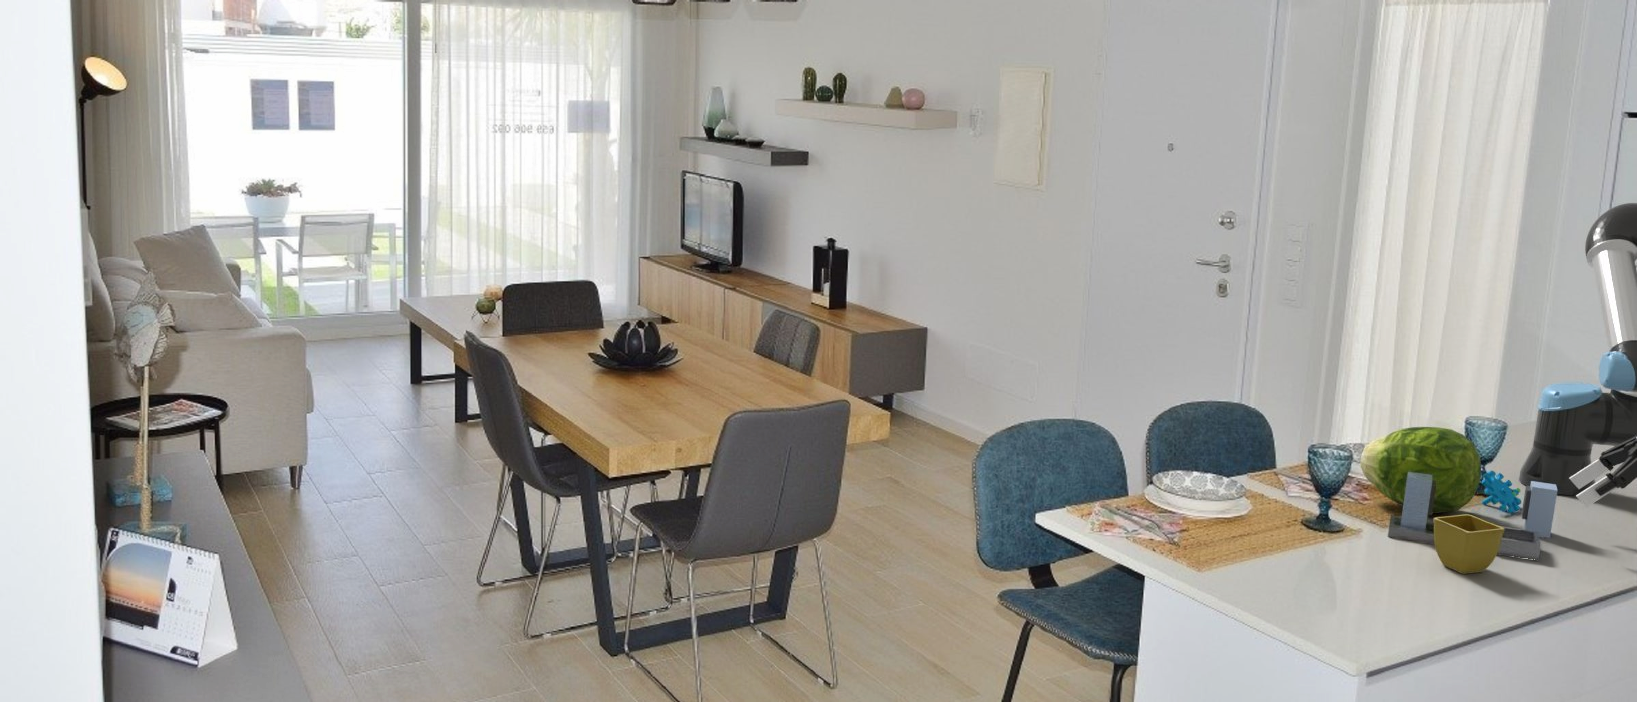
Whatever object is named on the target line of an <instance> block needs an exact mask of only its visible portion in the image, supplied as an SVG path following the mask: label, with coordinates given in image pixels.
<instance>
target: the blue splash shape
mask: <svg viewBox="0 0 1637 702" xmlns="http://www.w3.org/2000/svg"><path fill="white" fill-rule="evenodd" d="M1481 475H1482V474H1481ZM1482 477H1483V479H1482V480H1481V481H1480V482H1481V485H1482V486H1484V487H1485V489H1484V490H1483V491H1484V494H1485V495H1486V496H1488V497H1486V498H1485V499H1483V500H1481V504H1482V505H1483V506H1486V505H1487V504H1490V503H1491V504H1492V505H1493V506H1495V505H1496V504H1498V503H1499V504H1501V505H1500V506H1498V509H1499V510H1500V511H1502V512H1503V513H1504V512H1506V511H1507V513H1509V514H1510V513H1511V514H1510V515H1513V514H1515V513H1516V512H1518V511H1520V510H1522V509H1521V506H1520V505H1521V504H1522V499H1521V498H1518V497H1517V496H1519V494H1520V493H1521V489H1520V488H1519V487H1516V488H1515V489H1513V488H1511V487H1512V486H1513V483H1512V482H1511V480H1510V479H1507V480H1505V481H1503V479H1504V477H1505V476H1504V475H1503V473H1501V472H1499V473H1496V472H1495V471H1494V470H1489V471H1488V472H1486V473H1484V474H1483V475H1482ZM1512 513H1513V514H1512Z"/></svg>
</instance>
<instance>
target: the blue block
mask: <svg viewBox="0 0 1637 702" xmlns="http://www.w3.org/2000/svg"><path fill="white" fill-rule="evenodd" d="M1557 491H1558V490H1557V487H1556V484H1549V483H1542V482H1535V481H1531V484H1530V486H1526V485H1525V491H1524V496H1523V503H1522V509H1521V516H1522V517H1521V518H1522V520H1524V523H1523V530H1528V531H1535V532H1538V534H1539V536H1540V537H1539V538H1544V537H1547V538H1546V539H1550V538H1551V533H1552V527H1553V521H1554V516H1555V509H1556V502H1557V496H1558V494H1557Z"/></svg>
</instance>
